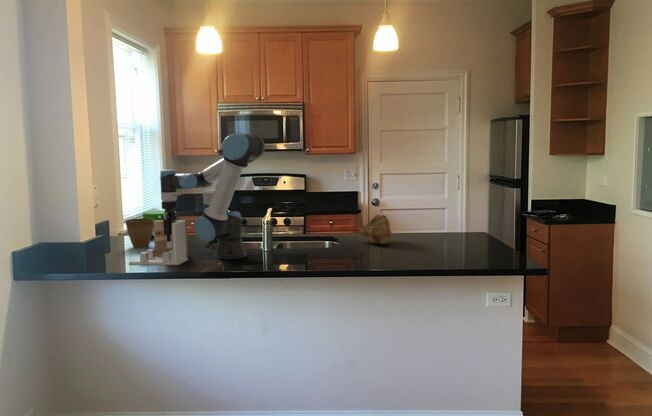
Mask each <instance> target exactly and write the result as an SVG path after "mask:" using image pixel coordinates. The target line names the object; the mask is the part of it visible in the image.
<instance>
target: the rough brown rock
mask: <svg viewBox="0 0 652 416" xmlns="http://www.w3.org/2000/svg"><path fill="white" fill-rule="evenodd" d="M359 234H360V235H361V238H362V240H364V241H366V242H367V241H370V242H372V243H374V244H376V245H377V244H379V243H380V244H382V245H384V244H385V245H387V244H389V243H391V241H392V230H391V224H390V220H389V218H387V216H386V215H385V214H376V215H374V217H372V219H371V220H370V221H369V222H368V223H366V224H364V225H362V226H361V228H360V229H359Z"/></svg>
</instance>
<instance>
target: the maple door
mask: <svg viewBox="0 0 652 416" xmlns="http://www.w3.org/2000/svg"><path fill="white" fill-rule="evenodd" d="M184 220H185V235H186V257H188V256H189V245H188V243H189V242H188V224H187V223H188V222H187V220H186V219H184ZM179 221H182V219H181V220H178V219H177V220H172V221H171V235H172V224H173V223H176V222H179ZM153 235H154V236H153V237H154V238H153V239H154V240H153V241H154V249H155V257H163V255H162V253H164V252H169V250H173V248H167V239H166V235H164V226H163V220H156V221H154V229H153ZM172 244H173V236H172Z"/></svg>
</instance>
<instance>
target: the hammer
mask: <svg viewBox="0 0 652 416" xmlns="http://www.w3.org/2000/svg"><path fill="white" fill-rule="evenodd" d="M215 189H216V188H213V189H206V190H205V189H204V190H203V193H202V194H203V195H202V196H203V198H202V199H203V205H207V206H209V205H210V203H211V200H212V197H213V194H214V191H215Z"/></svg>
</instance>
